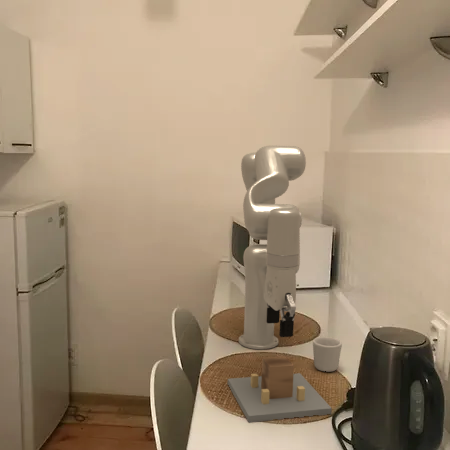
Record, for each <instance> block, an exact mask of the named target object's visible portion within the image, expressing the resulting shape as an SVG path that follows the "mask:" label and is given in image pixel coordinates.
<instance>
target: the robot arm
mask: <svg viewBox="0 0 450 450" xmlns="http://www.w3.org/2000/svg"><path fill="white" fill-rule="evenodd" d="M306 166H307V161H306V155H305V152H304V150H303V149H302V148H300V147H298V146H295V145H266V146H262V147H261V148H259V149H257V151H256V152H250V153H246V154H245V155H244V156H243V157H242V158H241V165H240V167H241V168H240V169H241V177H242V180H243V183H244V187H245V189H246V192H245V195H244V199H243V203H242V204H243V205H242V206H243V219H244V220H243V221H244V226H245V228H246V230H247V231H248V234H249V237H250V238H251V239H254V240H260V241H266V243H264V244H262V243H260V244H259V243H258V244H252V245H250V246H247V247H246V248H245V250H244V251H243V255H242V258H243V259H242V260H243V266H244V267H243V269H244V278H245V279H244V283H245V287H244V288H245V289H244V290H245V291H244V315H243V316H244V321H243V334H241V335H240V336H239V337H238V343H239V344H240V345H241V346H243V347H245V348H249V349H253V350H267V349H269V350H270V349H273V348H275V347H277V346H278V345H279V338H278V337H277V336H275V335H274V334H275V324H279V337H280V338H290V337H294V326H295V325H294V322H295V316H296V310H297V309H296V308H297V306H296V300H297V275H296V274H297V273H298V272H299V269H300V265H301V261H300V260H301V259H300V258H301V255H300V254H301V248H300V247H301V246H300V244H301V243H300V242H301V239H300V238H301V237H300V234H301V233H300V229H301V226H302V221H303V217H302V211H301V210H300V209H299V207H297V206H296V205H294V204H284V203H283V204H281V203H279V204H278V203H276V199H277V198H279V197H281V196H283V194H285V193H287V191H288V189H289V186H290V182H291V181H295V180H297V179H298V178H301V177H302V176H303V174H304V173H305V170H306ZM289 181H290V182H289ZM285 312H286V313H285Z"/></svg>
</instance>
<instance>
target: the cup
mask: <svg viewBox="0 0 450 450" xmlns="http://www.w3.org/2000/svg"><path fill="white" fill-rule="evenodd" d="M342 345H343V343H342V341H341V340H339V338H335V337H330V336H318V337H317V336H316V338H314V339H313V340H312V348H313V349H312V350H313V364H314V367H315V369H317V370H318V371H322V372H325V371H326V372H328V373H329V372H331V373H332V372H334V371H336V370H337V369H338V367H339V363H340V358H341V353H342V352H341V351H342Z"/></svg>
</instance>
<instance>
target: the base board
mask: <svg viewBox="0 0 450 450" xmlns="http://www.w3.org/2000/svg"><path fill="white" fill-rule="evenodd" d="M261 381H262V375H261V376H259V375H258V373H251V374H250V376H246V377H232V378H227V386H228V385H229V386H228V387H230V388H229V389H231V390H230V392H231V393H232V394H233V397H234V399H235V398H236V399H235V401H236V402H237V404H238V405H239V407H240V410H241V411H242V413H243V415H244V416H245V418H246V420H247V422H248V423H256V422H266V421H267V422H268V421H274V420H273V419H278V420H285V419H284V418H289V419H295V418H294V417H299V418H305V417H304V416H309V417H314V416H313V415H319V416H327V414H330V415H332V412H333V411H332V410H333V408H332V407H331V406H330V405H329V403H328V402H327V401H326V400H325V399H324V398H323V397H322V395H320V394H319V392H318V391H317V390H316V389H315V387H313V386H312V385H311V384H310V383H309V382H308V380H307V379H306V377H304V376H303V374H302V373H300V372H298V373H293V395H292V397H287V398H276V399H269V393H270V392H269V390H268V389H261Z"/></svg>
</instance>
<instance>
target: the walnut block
mask: <svg viewBox="0 0 450 450" xmlns="http://www.w3.org/2000/svg"><path fill="white" fill-rule="evenodd" d="M261 361H262V362H261V376H262V381H261V389H268V390H269V392H270V393H269V399H276V398H287V397H292V395H293V374H295V373H294V372H295V370H294V369H295V365H294V364H293V363H292V362H291V360H289V358H288V357H286V355H282V356H281V355H279V356H269V357H268V356H267V357H266V356H265V357H262V360H261Z"/></svg>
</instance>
